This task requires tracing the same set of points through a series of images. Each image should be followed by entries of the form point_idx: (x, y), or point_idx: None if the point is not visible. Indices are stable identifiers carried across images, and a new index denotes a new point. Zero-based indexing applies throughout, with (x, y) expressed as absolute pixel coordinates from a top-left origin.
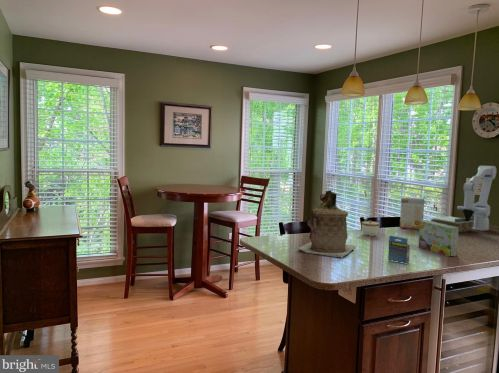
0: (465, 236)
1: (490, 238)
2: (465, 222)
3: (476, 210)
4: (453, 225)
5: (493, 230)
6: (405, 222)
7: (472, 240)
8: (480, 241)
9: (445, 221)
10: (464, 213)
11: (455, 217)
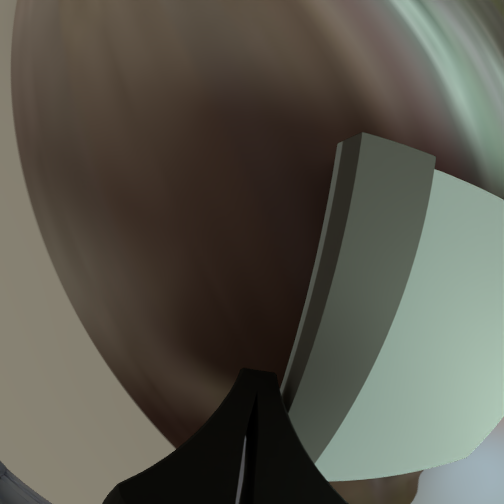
0: (175, 68)
1: (45, 200)
2: (287, 367)
3: (18, 498)
4: None
5: None
6: None
7: (95, 7)
8: (57, 36)
9: None
10: (307, 485)
11: (428, 464)
